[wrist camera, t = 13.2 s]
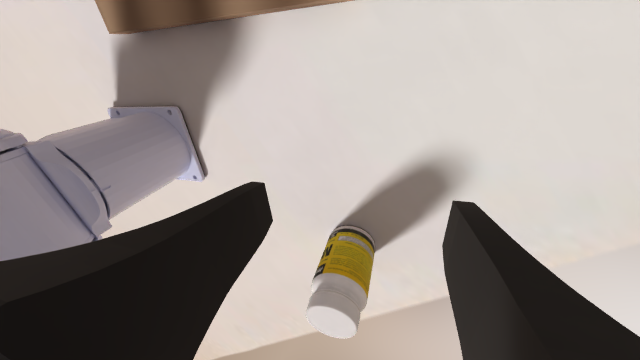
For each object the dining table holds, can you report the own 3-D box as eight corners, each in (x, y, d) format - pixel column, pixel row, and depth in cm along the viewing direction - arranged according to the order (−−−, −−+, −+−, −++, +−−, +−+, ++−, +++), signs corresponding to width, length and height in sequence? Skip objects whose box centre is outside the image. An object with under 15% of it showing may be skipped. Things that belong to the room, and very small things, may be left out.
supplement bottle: (332, 218, 24) (301, 293, 17) (380, 231, 23) (368, 316, 16) (327, 251, 26) (299, 328, 19) (370, 264, 25) (356, 350, 18)
